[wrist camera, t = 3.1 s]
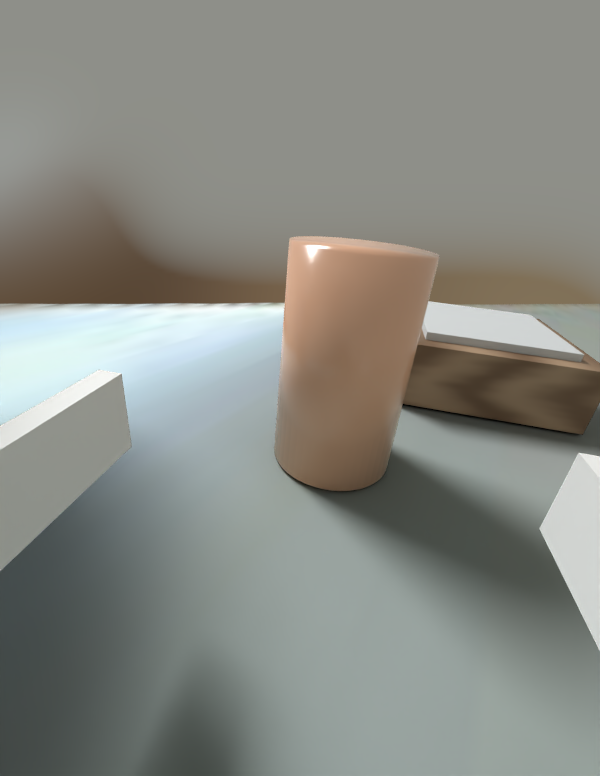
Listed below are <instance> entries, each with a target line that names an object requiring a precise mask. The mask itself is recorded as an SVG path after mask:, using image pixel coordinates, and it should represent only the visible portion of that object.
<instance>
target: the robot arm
mask: <svg viewBox="0 0 600 776" xmlns="http://www.w3.org/2000/svg"><path fill="white" fill-rule="evenodd" d="M131 447H132V445H131V438H130V431H129V424H128V416H127V409H126V402H125V395H124V388H123V381H122V374H121V373H115V372H109V371H103V370H98V371H96V372H94V373H93V374H91V375H89V376H87V377H85V378H84V379H82V380H80V381H78V382H77V383H75V384H73V385H71V386H70V387H68V388H66V389H64V390H63V391H61V392H59V393H57V394H55V395H54V396H52V397H50V398H48V399H47V400H45V401H43V402H41V403H40V404H38V405H36V406H34V407H32V408H31V409H29V410H27V411H25V412H24V413H22V414H20V415H18V416H17V417H15V418H13V419H11V420H10V421H8V422H6V423H4V424H2V425H1V426H0V571H1V570H2V569H3V568H4V567H5V566H6V565H7V564H8V563H9V562H11V561H12V560H13V559H14V558H15V557H16V556H17V555H18V554H19V553H20V552H21V551H22V550H23V549H24V548H25V547H26V546H27V545H28V544H30V543H31V542H32V541H33V540H34V539H35V538H36V537H37V536H38V535H39V534H40V533H41V532H42V531H43V530H44V529H45V528H46V527H47V526H49V525H50V524H51V523H52V522H53V521H54V520H55V519H56V518H57V517H58V516H59V515H60V514H61V513H62V512H63V511H64V510H65V509H66V508H68V507H69V506H70V505H71V504H72V503H73V502H74V501H75V500H76V499H77V498H78V497H79V496H80V495H81V494H82V493H83V492H84V491H85V490H87V489H88V488H89V487H90V486H91V485H92V484H93V483H94V482H95V481H96V480H97V479H98V478H99V477H100V476H101V475H102V474H103V473H104V472H106V471H107V470H108V469H109V468H110V467H111V466H112V465H113V464H114V463H115V462H116V461H117V460H118V459H119V458H120V457H121V456H122V455H123V454H125V453H126V452H127V451H128V450H129V449H130V448H131ZM540 531H541V533H542V535H543V537H544V539H545V541H546V543H547V545H548V547H549V549H550V551H551V553H552V555H553V557H554V559H555V561H556V563H557V565H558V567H559V569H560V572H561V574H562V576H563V578H564V580H565V582H566V584H567V586H568V588H569V590H570V592H571V594H572V596H573V598H574V600H575V602H576V604H577V606H578V608H579V610H580V612H581V614H582V616H583V618H584V620H585V622H586V624H587V626H588V628H589V630H590V632H591V634H592V636H593V638H594V640H595V642H596V644H597V646H598V648H599V650H600V456H595V455H589V454H583V453H578V455H577V457H576V459H575V461H574V463H573V465H572V467H571V469H570V471H569V473H568V474H567V476H566V478H565V480H564V482H563V484H562V486H561V488H560V490H559V492H558V494H557V496H556V498H555V500H554V502H553V503H552V505H551V507H550V509H549V511H548V513H547V515H546V517H545V519H544V521H543V523H542V525H541V527H540Z"/></svg>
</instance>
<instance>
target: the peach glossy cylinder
mask: <svg viewBox="0 0 600 776" xmlns="http://www.w3.org/2000/svg"><path fill="white" fill-rule="evenodd" d="M288 254H289V255H288V267H287V281H286V294H285V308H284V322H283V335H282V349H281V363H280V376H279V390H278V404H277V418H276V431H275V445H274V452H275V456H276V459H277V461H278V463H279V464H280V466H281V467H282V468H283V469H284V470H285V471H286V472H287V473H288V474H290V475H291V476H292V477H294V478H295V479H297V480H299V481H301V482H303V483H305V484H307V485H310V486H313V487H317V488H320V489H325V490H332V491H351V490H357V489H362V488H365V487H368V486H370V485H372V484H374V483H375V482H377V481H378V480H379V479H380V478H381V477H382V476H383V475H384V473H385V472H386V469H387V465H388V461H389V457H390V453H391V449H392V445H393V441H394V437H395V433H396V429H397V425H398V421H399V417H400V413H401V409H402V405H403V401H404V397H405V393H406V389H407V385H408V381H409V377H410V373H411V369H412V365H413V361H414V357H415V353H416V349H417V345H418V341H419V337H420V333H421V329H422V325H423V321H424V317H425V313H426V309H427V305H428V301H429V297H430V293H431V289H432V285H433V281H434V277H435V273H436V268H437V264H438V261H439V257H440V256H439V255H438V254H436V253H433V252H430V251H426V250H423V249H418V248H413V247H408V246H403V245H397V244H390V243H383V242H375V241H367V240H358V239H349V238H337V237H336V238H335V237H319V236H302V237H293V238H290V240H289V253H288Z"/></svg>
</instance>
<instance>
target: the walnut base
mask: <svg viewBox="0 0 600 776" xmlns="http://www.w3.org/2000/svg"><path fill="white" fill-rule="evenodd" d="M599 403H600V363H599V362H597V361H596V360H595V359H593V358H592V357H590V356H589V355H588V354H586V353H585V352H584V351H582V350H581V349H579V348H578V347H577V346H575V345H574V344H572V343H571V342H570V341H568V340H567V339H566V338H564V337H563V336H561V335H560V334H559V333H557V332H556V331H555V330H553V329H552V328H550V327H549V326H548V325H546V324H545V323H543V322H542V321H541V320H539V319H535V318H534V317H532V316H531V315H527V314H519V313H512V312H504V311H497V310H489V309H482V308H474V307H467V306H459V305H452V304H444V303H437V302H429V301H428V305H427V309H426V313H425V317H424V321H423V325H422V329H421V333H420V337H419V341H418V345H417V349H416V353H415V357H414V361H413V365H412V369H411V373H410V377H409V381H408V385H407V389H406V393H405V397H404V401H403V404H407V405H413V406H419V407H425V408H430V409H436V410H442V411H448V412H454V413H460V414H465V415H471V416H477V417H483V418H489V419H495V420H500V421H506V422H512V423H518V424H524V425H530V426H535V427H541V428H547V429H553V430H559V431H564V432H570V433H576V434H582V435H583V433H584V431H585V429H586V427H587V425H588V424H589V422H590V420H591V418H592V416H593V414H594V412H595V410H596V408H597V406H598V404H599Z"/></svg>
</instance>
